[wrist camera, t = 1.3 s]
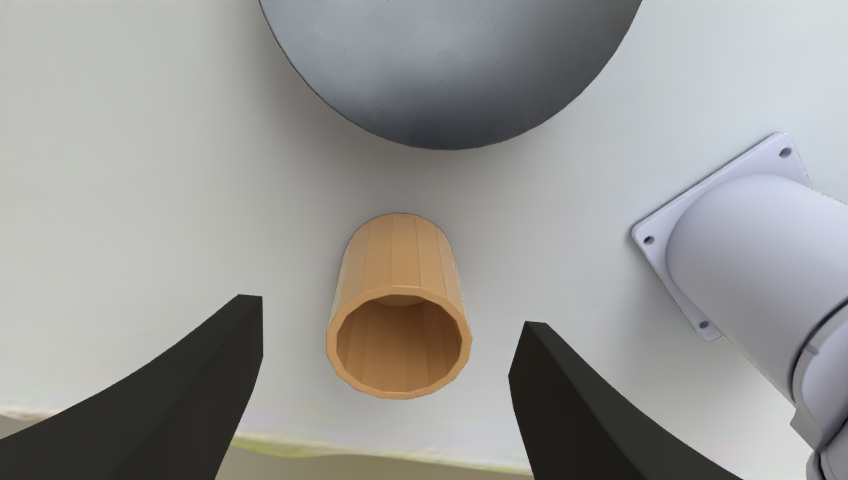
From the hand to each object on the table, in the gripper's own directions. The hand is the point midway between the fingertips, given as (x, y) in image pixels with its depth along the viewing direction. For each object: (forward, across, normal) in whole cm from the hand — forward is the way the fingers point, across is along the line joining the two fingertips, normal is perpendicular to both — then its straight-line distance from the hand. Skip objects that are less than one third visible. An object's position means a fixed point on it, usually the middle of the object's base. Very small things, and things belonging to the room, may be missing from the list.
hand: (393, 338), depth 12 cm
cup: (+10, -1, +4) cm, 11 cm away
